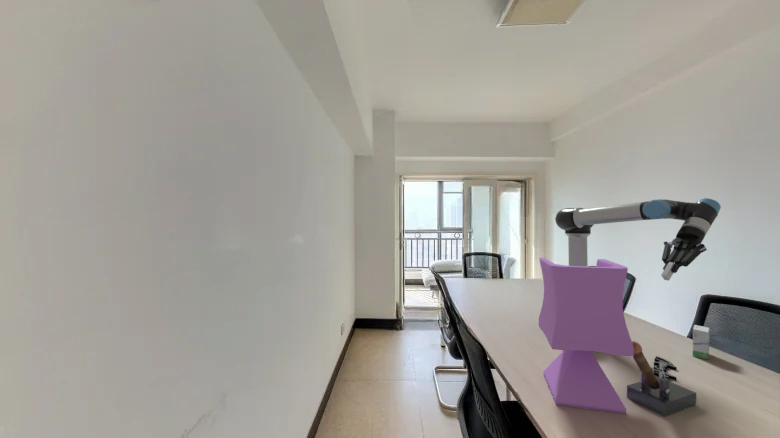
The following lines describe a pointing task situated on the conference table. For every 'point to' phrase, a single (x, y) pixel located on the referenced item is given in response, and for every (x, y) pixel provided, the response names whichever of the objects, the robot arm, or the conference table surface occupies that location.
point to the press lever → (645, 366)
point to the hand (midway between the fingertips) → (665, 277)
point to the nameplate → (663, 368)
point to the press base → (661, 396)
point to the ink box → (701, 342)
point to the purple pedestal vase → (584, 331)
